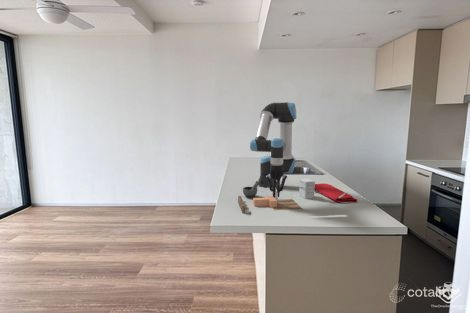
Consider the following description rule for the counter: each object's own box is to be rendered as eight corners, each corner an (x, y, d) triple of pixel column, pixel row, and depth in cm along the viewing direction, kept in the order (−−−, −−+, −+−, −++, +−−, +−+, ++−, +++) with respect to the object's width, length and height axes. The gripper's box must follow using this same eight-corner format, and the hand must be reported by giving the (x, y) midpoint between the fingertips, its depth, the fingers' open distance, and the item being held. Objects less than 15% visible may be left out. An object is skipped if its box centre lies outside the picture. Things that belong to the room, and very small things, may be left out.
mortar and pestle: (242, 200, 191) (242, 182, 189) (242, 196, 200) (242, 179, 198) (259, 200, 190) (259, 182, 188) (259, 196, 199) (259, 179, 197)
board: (238, 202, 186) (238, 195, 185) (292, 200, 190) (292, 194, 189) (242, 213, 166) (242, 205, 166) (302, 211, 170) (303, 203, 170)
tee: (252, 202, 182) (252, 196, 182) (272, 201, 184) (272, 195, 183) (255, 208, 171) (255, 201, 171) (276, 207, 173) (277, 200, 172)
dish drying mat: (328, 186, 228) (328, 182, 228) (357, 202, 188) (358, 197, 187) (309, 187, 226) (309, 182, 225) (334, 203, 186) (335, 198, 185)
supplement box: (298, 197, 197) (299, 179, 195) (307, 196, 200) (308, 178, 198) (304, 200, 190) (305, 181, 188) (314, 199, 193) (315, 180, 191)
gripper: (267, 165, 170) (266, 204, 174) (289, 165, 172) (288, 203, 175) (264, 163, 178) (264, 200, 181) (285, 163, 179) (284, 200, 183)
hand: (275, 202), depth 178 cm, fingers closed
